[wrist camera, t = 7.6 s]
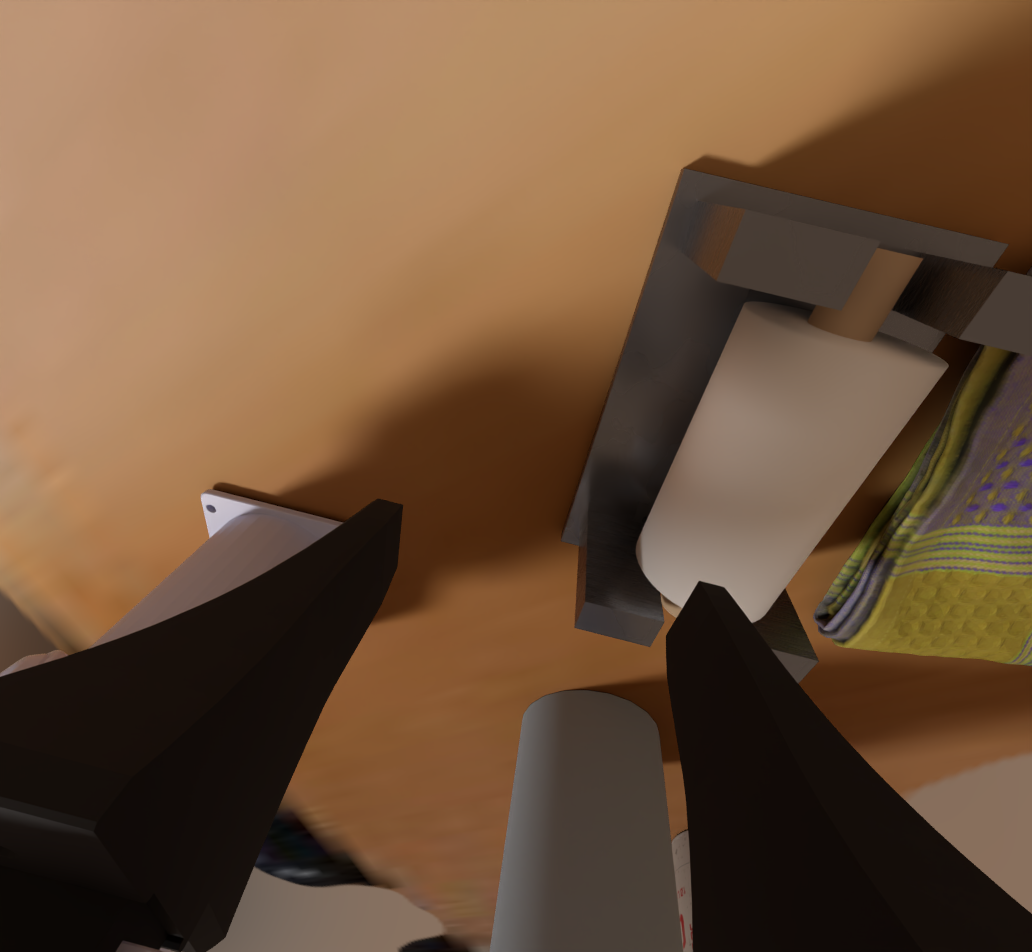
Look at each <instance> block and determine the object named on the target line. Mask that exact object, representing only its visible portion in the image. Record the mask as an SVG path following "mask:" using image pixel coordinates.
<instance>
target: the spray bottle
mask: <svg viewBox="0 0 1032 952" xmlns="http://www.w3.org/2000/svg"><path fill="white" fill-rule="evenodd" d="M490 952H683V944H682V935H681V926H680V917H679V908H678V899H677V890H676V881H675V872H674V863H673V854H672V844H671V835H670V826H669V817H668V808H667V799H666V790H665V781H664V772H663V763H662V754H661V745H660V736H659V732H658V728H657V724H656V723H655V722H654V720H653V719H652V718H651V717H650V715H649V714H648V713H647V712H646V711H644V710H643V709H641V708H640V707H638V706H637V705H635V704H634V703H632V702H631V701H628V700H625V699H623V698H620V697H617V696H614V695H612V694H609V693H602V692H595V691H589V690H573V691H561V692H557V693H554V694H550V695H546V696H543V697H542V698H540V699H539V700H537V701H535V702H534V703H532V704H531V705H530V706H529V708H528V709H527V710H526V712H525V713H524V715H523V721H522V728H521V735H520V742H519V749H518V756H517V763H516V770H515V777H514V785H513V792H512V799H511V806H510V813H509V820H508V827H507V834H506V841H505V848H504V855H503V862H502V869H501V876H500V883H499V890H498V897H497V905H496V912H495V919H494V926H493V933H492V940H491V947H490Z"/></svg>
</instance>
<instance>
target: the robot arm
mask: <svg viewBox="0 0 1032 952" xmlns="http://www.w3.org/2000/svg"><path fill="white" fill-rule="evenodd" d="M201 501H202V505H203V510H204V514H205V519H206V523H207V528H208V532H209V537H210V538H209V539H208V540H207V541H206V542H205V543H204V544H203V545H202V546H201V547H199V548H198V549H197V550H196V551H195V552H194V553H193V554H192V555H191V556H190V557H189V558H187V559H186V560H185V561H184V562H183V563H182V564H181V565H180V566H179V567H178V568H176V569H175V570H174V571H173V572H172V573H171V574H170V575H169V576H168V577H167V578H165V579H164V580H163V581H162V582H161V583H160V584H159V585H158V586H157V587H156V588H155V589H153V590H152V591H151V592H150V593H149V594H148V595H147V596H146V597H145V598H144V599H142V600H141V601H140V602H139V603H138V604H137V605H136V606H135V607H134V608H133V609H131V610H130V611H129V612H128V613H127V614H126V615H125V616H124V617H123V618H122V619H121V620H119V621H118V622H117V623H116V624H115V625H114V626H113V627H112V628H111V629H110V630H108V631H107V632H106V633H105V634H104V635H103V636H102V637H101V638H100V639H99V640H97V641H96V642H95V643H94V644H93V645H92V646H91V647H90V648H89V649H87V650H84V651H81V652H78V653H75V654H72V655H69V656H68V655H67V654H66V653H64V652H63V651H60V650H56V651H52V652H50V653H48V654H37V655H31V656H26V657H24V658H22V659H21V660H19V661H17V662H16V663H14V664H13V665H11V666H10V667H9V668H7V669H6V670H4V671H3V672H2V673H0V952H170V951H171V950H172V951H176V952H181V951H182V952H206V951H208V950H209V949H211V948H212V947H214V946H215V945H216V944H218V943H219V942H220V941H221V940H223V939H224V938H225V937H226V934H227V932H228V930H229V927H230V924H231V922H232V919H233V917H234V914H235V912H236V909H237V907H238V904H239V902H240V899H241V897H242V894H243V892H244V890H245V887H246V885H247V882H248V880H249V877H250V875H251V872H252V870H253V867H254V865H255V863H256V860H257V858H258V855H259V853H260V850H261V848H262V846H263V843H264V841H265V839H266V836H267V834H268V831H269V829H270V827H271V824H272V822H273V820H274V817H275V815H276V813H277V810H278V808H279V806H280V803H281V801H282V798H283V796H284V794H285V792H286V789H287V787H288V785H289V783H290V780H291V778H292V776H293V773H294V771H295V769H296V767H297V764H298V762H299V760H300V758H301V755H302V753H303V751H304V749H305V746H306V744H307V742H308V740H309V738H310V735H311V733H312V731H313V729H314V727H315V725H316V722H317V720H318V718H319V716H320V714H321V711H322V709H323V707H324V705H325V703H326V701H327V699H328V697H329V696H330V694H331V692H332V690H333V688H334V686H335V684H336V683H337V681H338V679H339V677H340V676H341V674H342V672H343V670H344V669H345V667H346V665H347V663H348V662H349V660H350V658H351V656H352V655H353V653H354V651H355V650H356V648H357V646H358V644H359V643H360V641H361V639H362V637H363V636H364V634H365V632H366V630H367V629H368V627H369V625H370V623H371V622H372V620H373V618H374V616H375V615H376V613H377V611H378V609H379V607H380V606H381V604H382V602H383V599H384V597H385V595H386V592H387V590H388V588H389V585H390V583H391V581H392V578H393V576H394V573H395V571H396V569H397V564H398V554H399V543H400V532H401V521H402V510H403V505H402V504H398V503H394V502H390V501H386V500H382V499H376V500H375V501H373V502H372V503H370V504H369V505H367V506H366V507H365V508H363V509H362V510H360V511H359V512H358V513H356V514H355V515H353V516H352V517H351V518H349V519H348V520H346V521H345V522H344V523H343V522H339V521H335V520H331V519H327V518H323V517H319V516H315V515H311V514H307V513H303V512H299V511H295V510H291V509H287V508H284V507H280V506H276V505H272V504H268V503H264V502H260V501H256V500H252V499H248V498H244V497H240V496H236V495H232V494H228V493H224V492H220V491H217V490H212V489H208V490H206V491H205V492H204V493H202V495H201ZM666 662H667V680H668V686H669V693H670V699H671V706H672V712H673V718H674V724H675V730H676V736H677V742H678V748H679V754H680V760H681V766H682V773H683V779H684V787H685V795H686V806H687V820H688V835H689V850H690V872H691V895H692V936H693V952H1032V914H1031V913H1030V912H1029V911H1028V910H1026V909H1025V908H1024V907H1023V906H1021V905H1020V904H1019V903H1018V902H1016V900H1014V899H1013V898H1012V897H1011V896H1010V895H1008V894H1007V893H1006V892H1005V891H1004V890H1003V889H1002V888H1000V887H999V886H998V885H997V884H995V882H994V881H992V880H991V879H990V878H989V877H988V876H987V875H986V874H984V873H983V872H982V871H981V870H980V869H978V868H977V867H976V866H975V865H974V864H973V863H972V862H971V861H969V860H968V859H967V858H966V857H965V856H964V855H963V854H962V853H960V852H959V851H958V850H957V849H956V848H955V847H954V846H953V845H952V844H951V843H949V842H948V841H947V840H946V839H945V838H944V837H943V836H942V835H941V834H940V833H938V832H937V831H936V830H935V829H934V828H933V827H932V826H931V825H930V824H929V823H928V822H927V821H926V820H925V819H924V818H923V817H922V816H921V815H919V814H918V813H917V812H916V811H915V810H914V809H913V808H912V807H911V806H910V805H909V804H908V803H907V802H906V801H905V800H904V799H903V798H902V797H901V796H900V795H899V794H898V793H897V792H896V791H895V790H894V789H893V788H892V787H891V786H890V785H889V784H888V783H887V782H886V781H885V780H884V779H883V778H882V777H881V776H880V775H879V774H878V773H877V772H876V771H875V770H874V769H873V768H872V767H871V766H870V765H869V764H868V763H867V762H866V761H865V760H864V759H863V757H862V756H861V755H860V754H859V753H858V752H857V751H856V750H855V749H854V748H853V747H852V746H851V745H850V744H849V743H848V741H847V740H846V739H845V738H844V737H843V736H842V735H841V734H840V733H839V732H838V730H837V729H836V728H835V727H834V726H833V725H832V724H831V723H830V721H829V720H828V719H827V718H826V717H825V716H824V714H823V713H822V712H821V711H820V710H819V708H818V707H817V706H816V705H815V704H814V702H813V701H812V700H811V699H810V698H809V696H808V695H807V694H806V693H805V692H804V690H803V689H802V688H801V687H800V685H799V684H798V683H797V682H796V680H795V679H794V678H793V677H792V675H791V674H790V673H789V672H788V670H787V669H786V668H785V667H784V665H783V664H782V663H781V661H780V660H779V659H778V657H777V656H776V655H775V653H774V652H773V651H772V650H771V648H770V647H769V646H768V644H767V643H766V642H765V640H764V639H763V638H762V636H761V635H760V633H759V632H758V631H757V629H756V628H755V627H754V625H753V624H752V623H751V621H750V620H749V619H748V617H747V616H746V615H745V613H744V612H743V611H742V609H741V608H740V607H739V605H738V604H737V603H736V601H735V600H734V599H733V597H732V596H731V595H730V593H729V592H728V591H727V590H726V589H725V587H722V586H718V585H714V584H710V583H706V582H703V581H698V583H697V585H696V586H695V588H694V590H693V591H692V593H691V595H690V596H689V598H688V600H687V601H686V603H685V605H684V606H683V608H682V610H681V611H680V613H679V615H678V617H677V618H676V620H675V622H674V623H673V625H672V627H671V628H670V630H669V632H668V633H667V635H666Z"/></svg>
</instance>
